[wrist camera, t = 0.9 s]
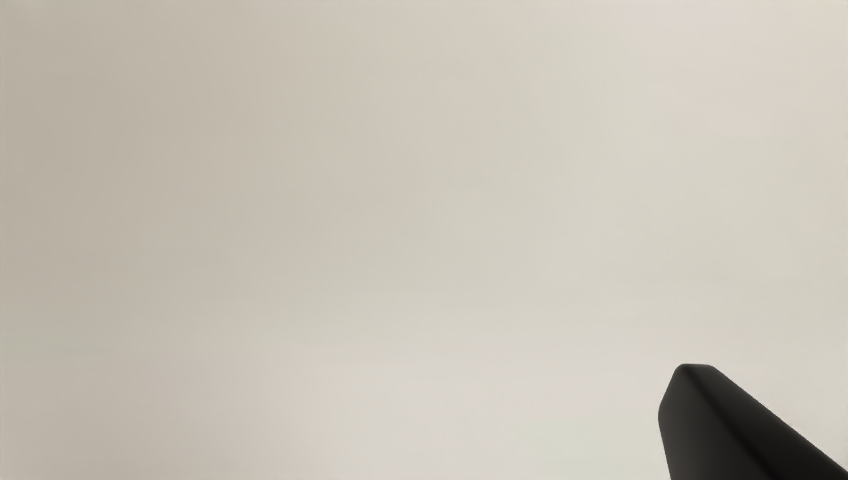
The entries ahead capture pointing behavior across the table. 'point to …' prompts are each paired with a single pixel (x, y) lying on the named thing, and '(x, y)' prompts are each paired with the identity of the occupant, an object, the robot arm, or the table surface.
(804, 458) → the robot arm
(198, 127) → the table surface
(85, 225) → the table surface
